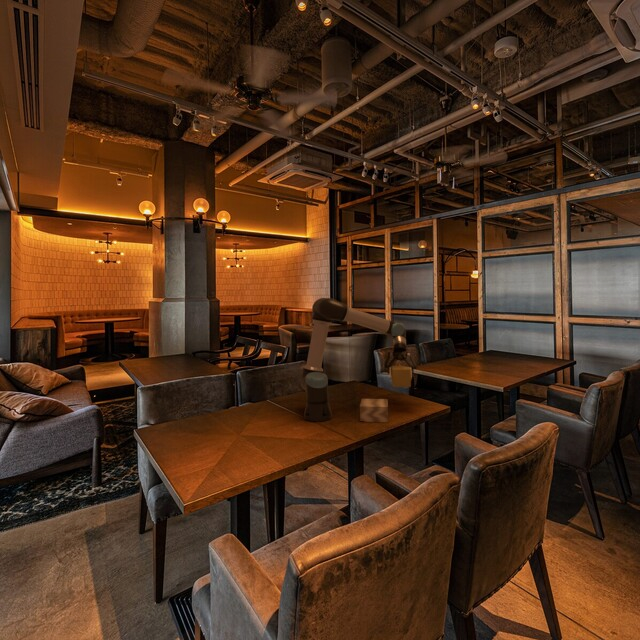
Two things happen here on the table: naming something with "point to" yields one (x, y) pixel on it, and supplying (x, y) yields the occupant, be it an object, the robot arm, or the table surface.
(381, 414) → the chevron patterned block
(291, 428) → the table surface
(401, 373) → the cheese
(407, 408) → the table surface
